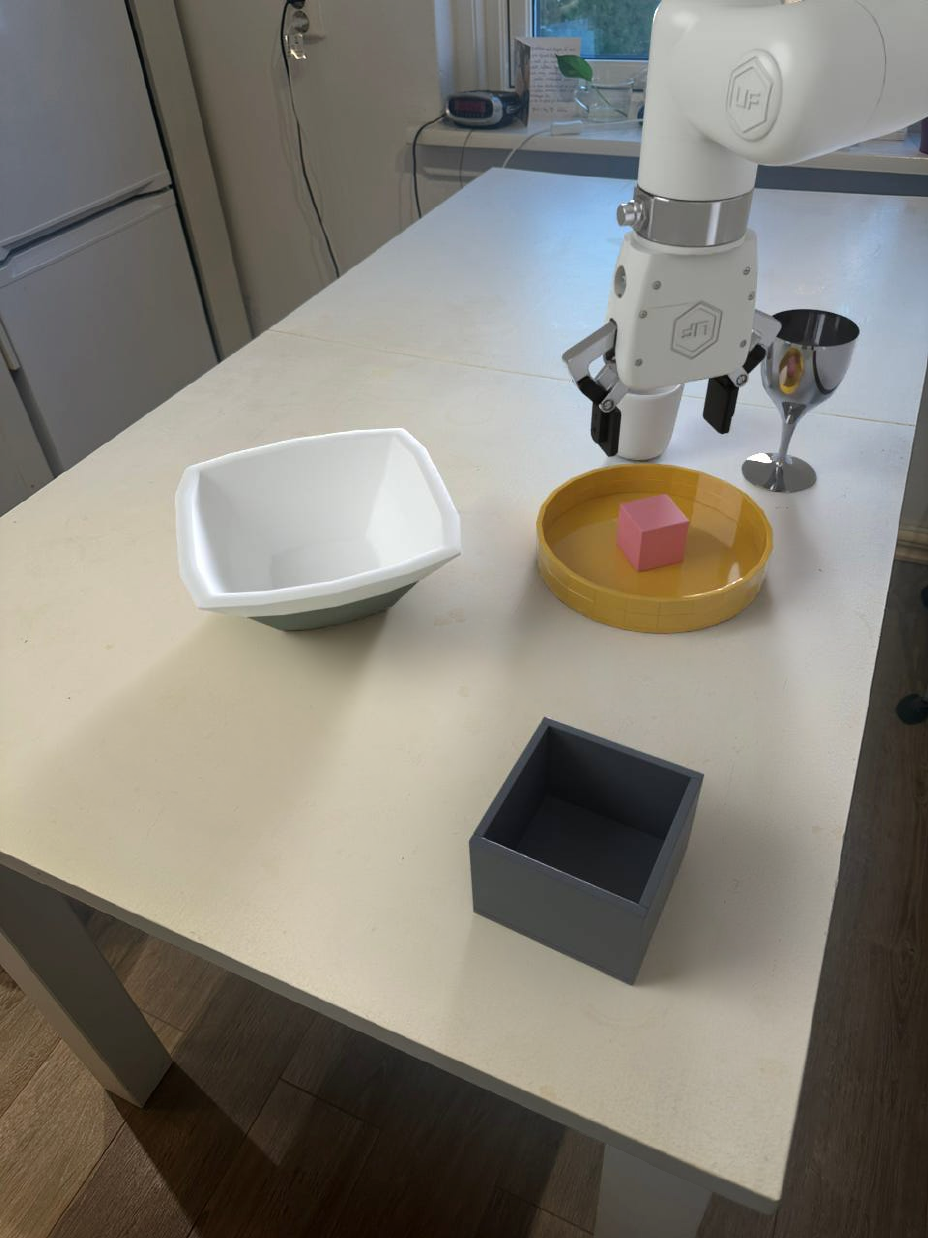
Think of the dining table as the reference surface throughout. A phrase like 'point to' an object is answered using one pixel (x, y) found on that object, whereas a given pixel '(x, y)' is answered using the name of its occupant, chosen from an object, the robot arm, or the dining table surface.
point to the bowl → (313, 528)
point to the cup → (647, 421)
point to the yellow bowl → (664, 596)
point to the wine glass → (800, 386)
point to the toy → (652, 532)
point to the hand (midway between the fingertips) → (660, 436)
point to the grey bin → (584, 846)
